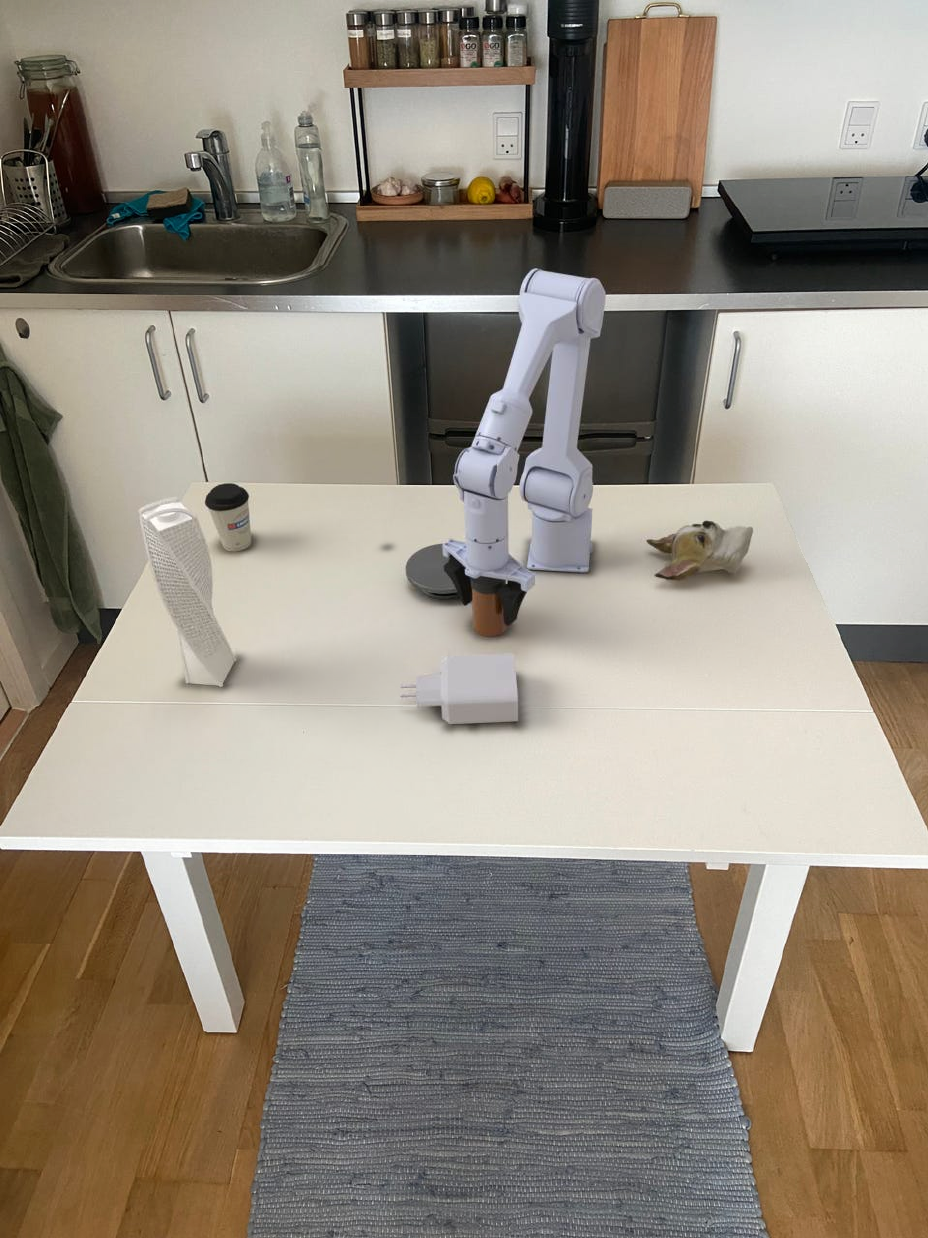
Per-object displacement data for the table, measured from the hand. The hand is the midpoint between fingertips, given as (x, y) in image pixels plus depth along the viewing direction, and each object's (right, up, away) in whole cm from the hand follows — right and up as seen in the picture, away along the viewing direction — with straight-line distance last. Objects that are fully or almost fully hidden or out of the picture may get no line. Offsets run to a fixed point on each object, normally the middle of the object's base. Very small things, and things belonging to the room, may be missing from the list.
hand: (489, 611), depth 133 cm
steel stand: (-6, +5, +10) cm, 13 cm away
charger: (-4, -12, -10) cm, 16 cm away
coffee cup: (-41, +11, +21) cm, 47 cm away
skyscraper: (-38, -9, -4) cm, 40 cm away
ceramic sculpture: (+32, +7, +11) cm, 35 cm away
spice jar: (0, -2, +2) cm, 3 cm away
